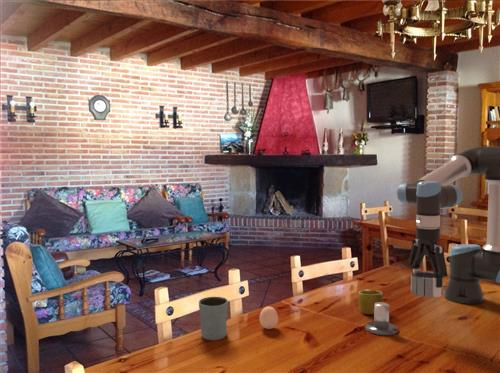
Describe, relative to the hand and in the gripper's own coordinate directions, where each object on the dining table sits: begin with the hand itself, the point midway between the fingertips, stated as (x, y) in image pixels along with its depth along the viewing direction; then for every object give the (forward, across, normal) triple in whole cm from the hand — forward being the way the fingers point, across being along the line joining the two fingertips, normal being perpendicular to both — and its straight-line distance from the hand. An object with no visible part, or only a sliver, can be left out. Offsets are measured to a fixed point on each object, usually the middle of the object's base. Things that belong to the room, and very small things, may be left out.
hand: (426, 291), depth 154 cm
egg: (+15, -20, -50) cm, 56 cm away
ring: (0, 0, 0) cm, 0 cm away
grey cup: (+15, -20, -70) cm, 75 cm away
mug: (+15, -26, -6) cm, 31 cm away
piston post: (+15, -8, -12) cm, 21 cm away
